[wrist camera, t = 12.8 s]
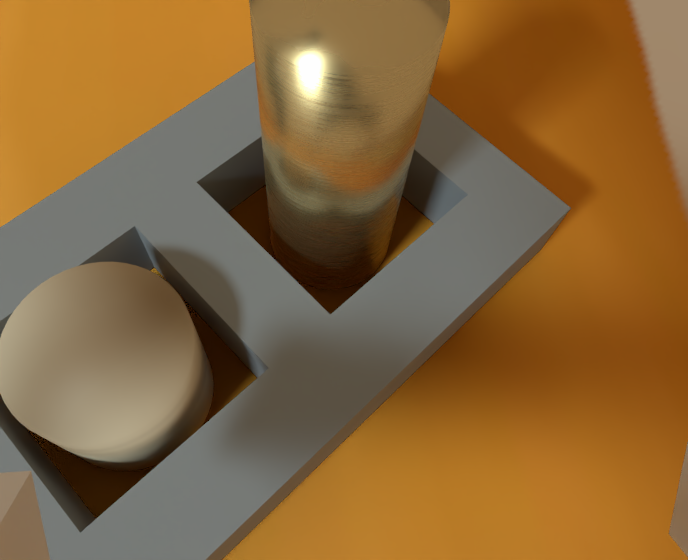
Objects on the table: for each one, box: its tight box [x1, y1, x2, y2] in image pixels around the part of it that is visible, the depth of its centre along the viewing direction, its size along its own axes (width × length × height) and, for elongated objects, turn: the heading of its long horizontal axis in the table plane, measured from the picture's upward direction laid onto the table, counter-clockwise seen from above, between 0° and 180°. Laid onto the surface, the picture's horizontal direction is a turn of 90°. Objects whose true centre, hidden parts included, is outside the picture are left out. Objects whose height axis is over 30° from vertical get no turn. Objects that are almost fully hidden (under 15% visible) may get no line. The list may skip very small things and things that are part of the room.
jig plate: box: [0, 62, 571, 560], centre depth 21 cm, size 12×20×3 cm, turn 134°
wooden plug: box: [0, 262, 214, 471], centre depth 19 cm, size 5×5×4 cm
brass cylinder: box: [249, 0, 450, 289], centre depth 19 cm, size 4×4×11 cm
